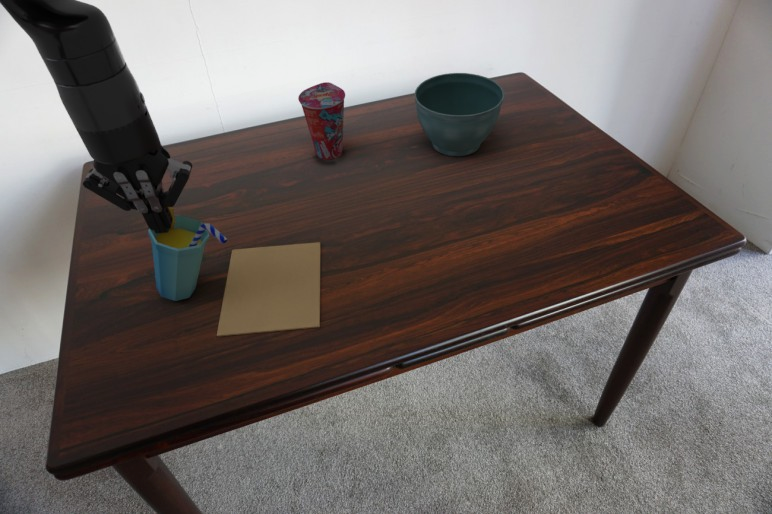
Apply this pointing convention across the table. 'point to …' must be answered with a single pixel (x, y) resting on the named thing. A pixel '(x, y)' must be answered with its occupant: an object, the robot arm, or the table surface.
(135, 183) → the robot arm
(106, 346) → the table surface
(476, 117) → the flower pot
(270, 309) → the cork mat
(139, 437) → the table surface
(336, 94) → the cup
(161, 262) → the cup
